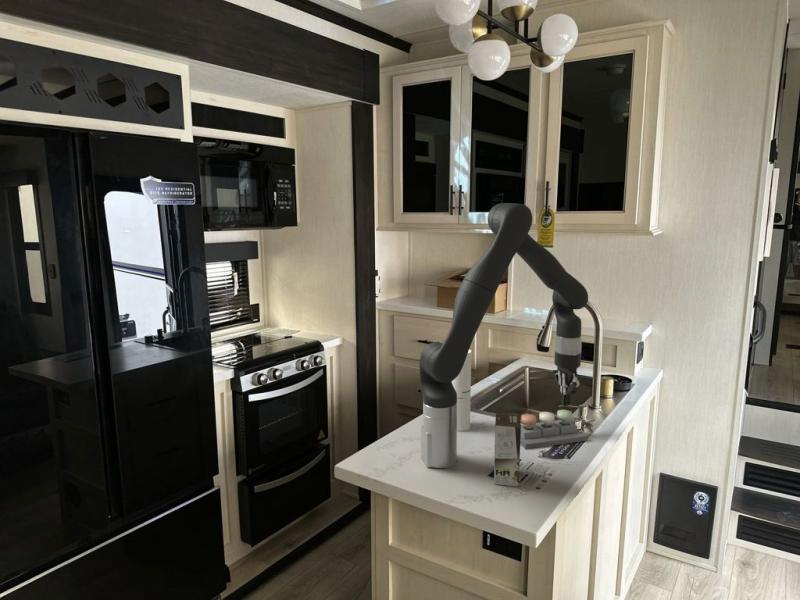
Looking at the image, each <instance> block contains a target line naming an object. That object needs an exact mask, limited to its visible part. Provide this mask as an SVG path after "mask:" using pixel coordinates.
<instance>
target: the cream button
mask: <svg viewBox="0 0 800 600" xmlns="http://www.w3.org/2000/svg"><path fill="white" fill-rule="evenodd" d="M555 416H556V415H555V414H554V413H553V412H550V411H541V412H539V416H538V417H539V419H538V420H539V421H540V422H543V423H544V426H545V427H549V426H550V423H553V422H554V421H555Z"/></svg>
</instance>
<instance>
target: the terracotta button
mask: <svg viewBox="0 0 800 600" xmlns="http://www.w3.org/2000/svg"><path fill="white" fill-rule="evenodd" d="M520 421H521V425H523V424H524V425H526V427H525V428H526V429H531V428H532V425H535V424H536V423H537V416H536V415H535V414H532V413H531V414H530V413H523V414H522V415H520Z"/></svg>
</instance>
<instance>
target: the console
mask: <svg viewBox="0 0 800 600" xmlns="http://www.w3.org/2000/svg"><path fill="white" fill-rule="evenodd" d="M525 427H526V425H524V424H521V440H520V446H522V447H523V449H525V450H529V449H536V448H543V447H553V446H558V445H564V444H565V445H566V444H572V443H579V442H580V443H581V442H586V441H587V439H588V438H587V437H588V436H587V435H586V434H584V432H582V431H581V430H579V429H578V425H577V424H575V423H574V422H573V421H572V420H570V421H568V422H567V424H562V423H561V420H559V419H557V420H555V419H554V422H553V423H550V426H549V427H545V426H544V423H543V422H541V421H540V422H536V424H535V425H532V428H531V429H526V428H525Z"/></svg>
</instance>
